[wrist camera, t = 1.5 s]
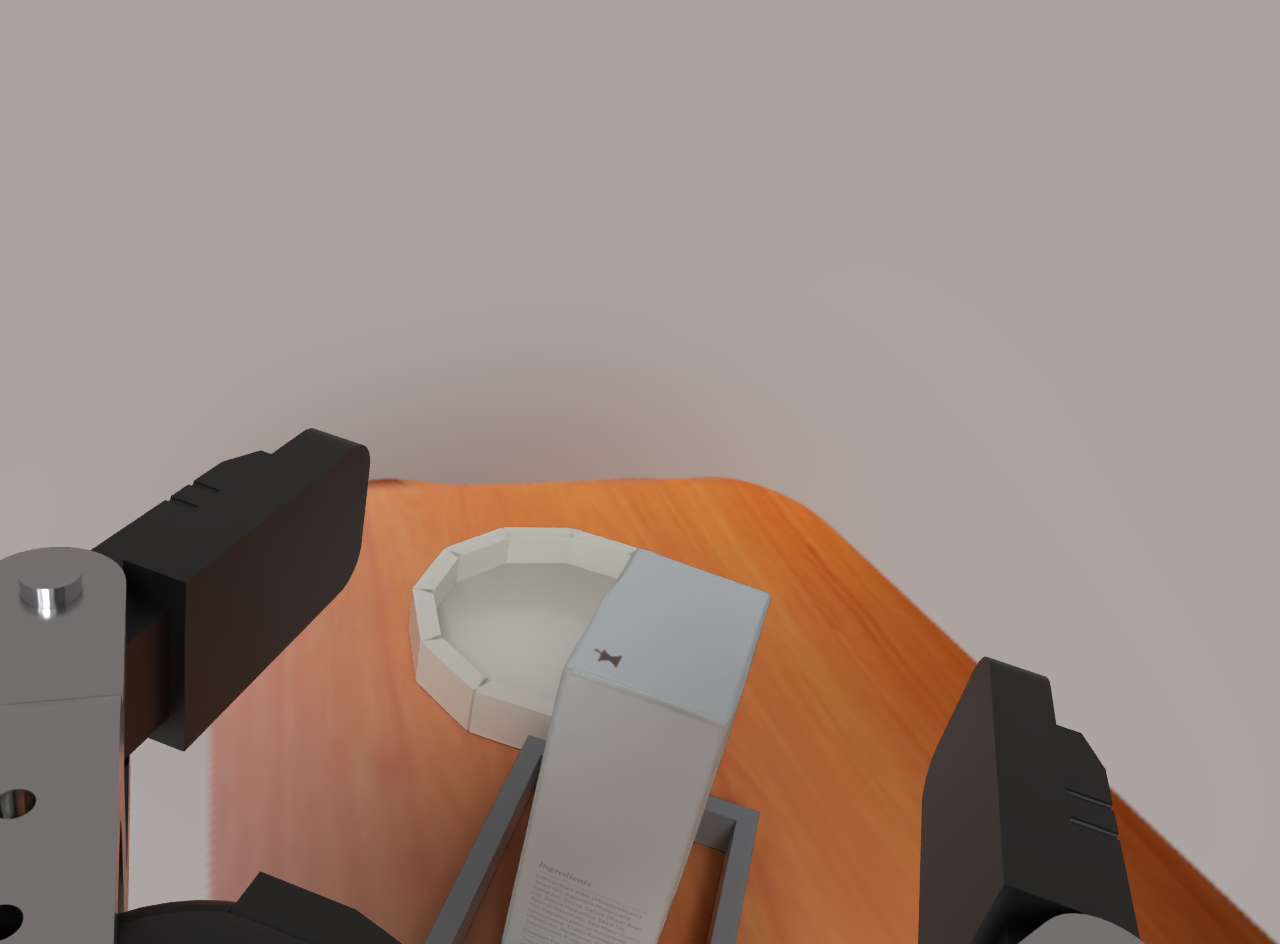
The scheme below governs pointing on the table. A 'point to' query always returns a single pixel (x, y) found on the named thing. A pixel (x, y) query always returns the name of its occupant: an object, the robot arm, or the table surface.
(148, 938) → the robot arm
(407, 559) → the table surface
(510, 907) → the skincare box
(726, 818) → the tray
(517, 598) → the bowl
